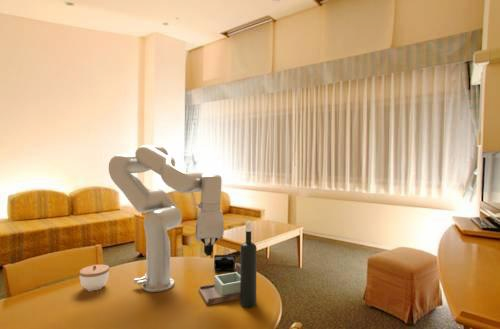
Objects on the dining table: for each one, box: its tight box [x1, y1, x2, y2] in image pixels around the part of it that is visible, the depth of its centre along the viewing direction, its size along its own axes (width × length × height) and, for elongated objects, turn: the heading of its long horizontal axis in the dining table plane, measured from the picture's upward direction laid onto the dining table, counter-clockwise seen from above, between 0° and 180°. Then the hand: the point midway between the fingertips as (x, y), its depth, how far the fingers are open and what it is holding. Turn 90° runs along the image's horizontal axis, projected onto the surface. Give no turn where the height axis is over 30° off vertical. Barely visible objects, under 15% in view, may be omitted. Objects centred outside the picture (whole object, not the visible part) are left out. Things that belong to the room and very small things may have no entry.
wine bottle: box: [239, 220, 258, 309], centre depth 105 cm, size 6×6×30 cm
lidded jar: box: [79, 264, 110, 292], centre depth 118 cm, size 11×11×9 cm
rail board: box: [198, 262, 241, 306], centre depth 113 cm, size 17×12×9 cm
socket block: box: [213, 271, 241, 296], centre depth 114 cm, size 10×10×4 cm
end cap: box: [213, 254, 236, 273], centre depth 139 cm, size 10×7×7 cm
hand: (208, 254), depth 111 cm, fingers closed
